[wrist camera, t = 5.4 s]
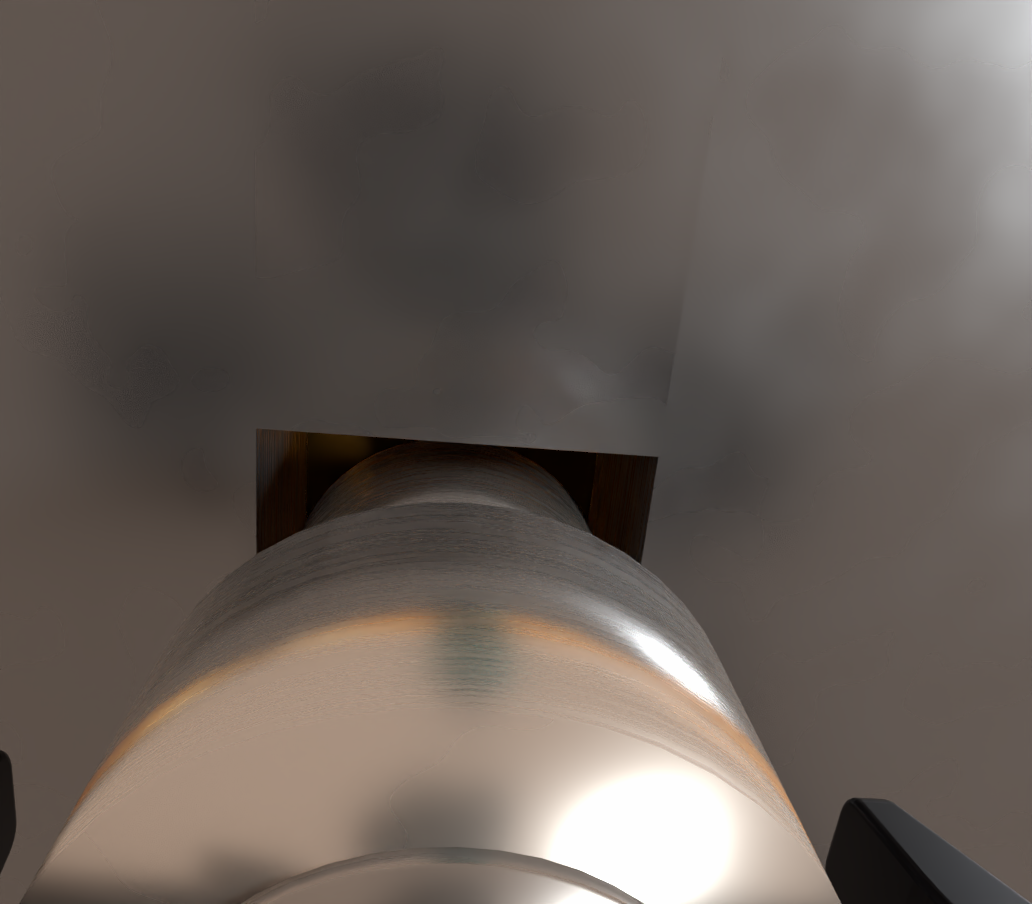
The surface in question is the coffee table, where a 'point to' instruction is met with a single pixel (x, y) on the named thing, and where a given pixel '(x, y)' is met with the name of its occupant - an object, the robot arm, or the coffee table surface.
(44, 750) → the bore block
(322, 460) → the coffee table surface
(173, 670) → the end cover
